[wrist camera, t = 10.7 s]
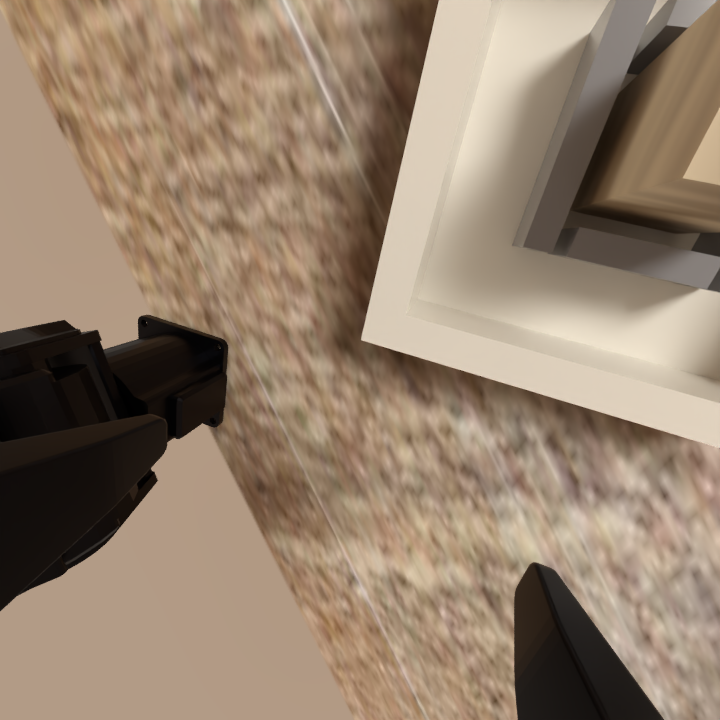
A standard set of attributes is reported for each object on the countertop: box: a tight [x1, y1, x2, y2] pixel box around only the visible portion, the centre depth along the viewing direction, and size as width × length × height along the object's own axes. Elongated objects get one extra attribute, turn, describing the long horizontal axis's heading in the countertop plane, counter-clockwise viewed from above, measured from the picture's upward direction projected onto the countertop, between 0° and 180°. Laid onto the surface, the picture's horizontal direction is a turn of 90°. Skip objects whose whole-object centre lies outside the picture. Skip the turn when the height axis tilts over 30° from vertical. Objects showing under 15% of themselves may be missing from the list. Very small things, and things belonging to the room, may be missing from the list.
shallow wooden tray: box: [361, 0, 720, 448], centre depth 12 cm, size 17×17×5 cm
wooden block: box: [570, 0, 720, 234], centre depth 9 cm, size 4×4×8 cm
